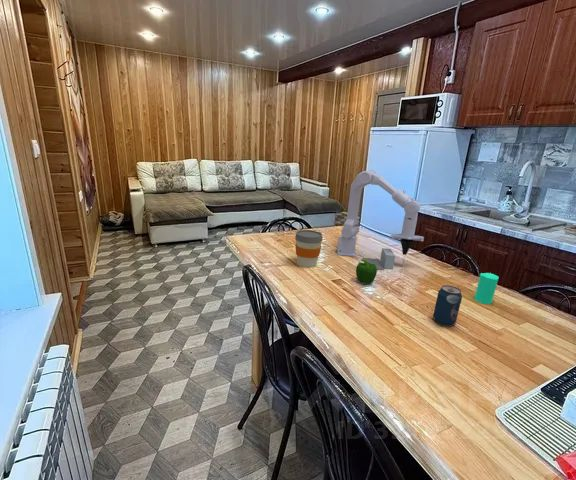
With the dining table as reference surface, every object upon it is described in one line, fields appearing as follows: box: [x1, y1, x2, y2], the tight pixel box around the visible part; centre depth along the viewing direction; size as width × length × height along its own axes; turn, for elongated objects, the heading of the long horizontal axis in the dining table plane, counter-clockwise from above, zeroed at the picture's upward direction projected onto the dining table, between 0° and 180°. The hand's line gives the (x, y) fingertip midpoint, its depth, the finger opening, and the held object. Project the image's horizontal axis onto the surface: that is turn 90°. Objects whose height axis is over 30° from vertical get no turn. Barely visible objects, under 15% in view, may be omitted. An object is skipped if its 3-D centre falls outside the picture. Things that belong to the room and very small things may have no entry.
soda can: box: [432, 284, 463, 327], centre depth 102 cm, size 7×7×12 cm
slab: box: [379, 248, 396, 271], centre depth 150 cm, size 4×10×7 cm, turn 175°
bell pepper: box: [355, 259, 378, 285], centre depth 130 cm, size 8×8×10 cm
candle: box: [474, 271, 499, 305], centre depth 119 cm, size 6×6×12 cm
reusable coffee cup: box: [294, 229, 323, 269], centre depth 145 cm, size 13×13×15 cm
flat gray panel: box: [362, 257, 385, 271], centre depth 152 cm, size 8×14×1 cm, turn 175°
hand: (404, 254), depth 149 cm, fingers closed
